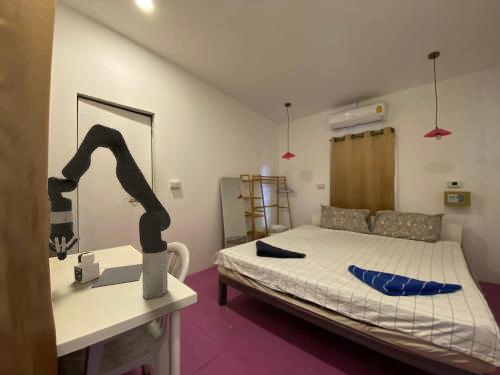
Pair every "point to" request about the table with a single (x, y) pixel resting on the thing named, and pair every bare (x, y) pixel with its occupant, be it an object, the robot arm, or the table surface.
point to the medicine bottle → (86, 268)
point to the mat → (119, 275)
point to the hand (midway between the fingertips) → (62, 259)
